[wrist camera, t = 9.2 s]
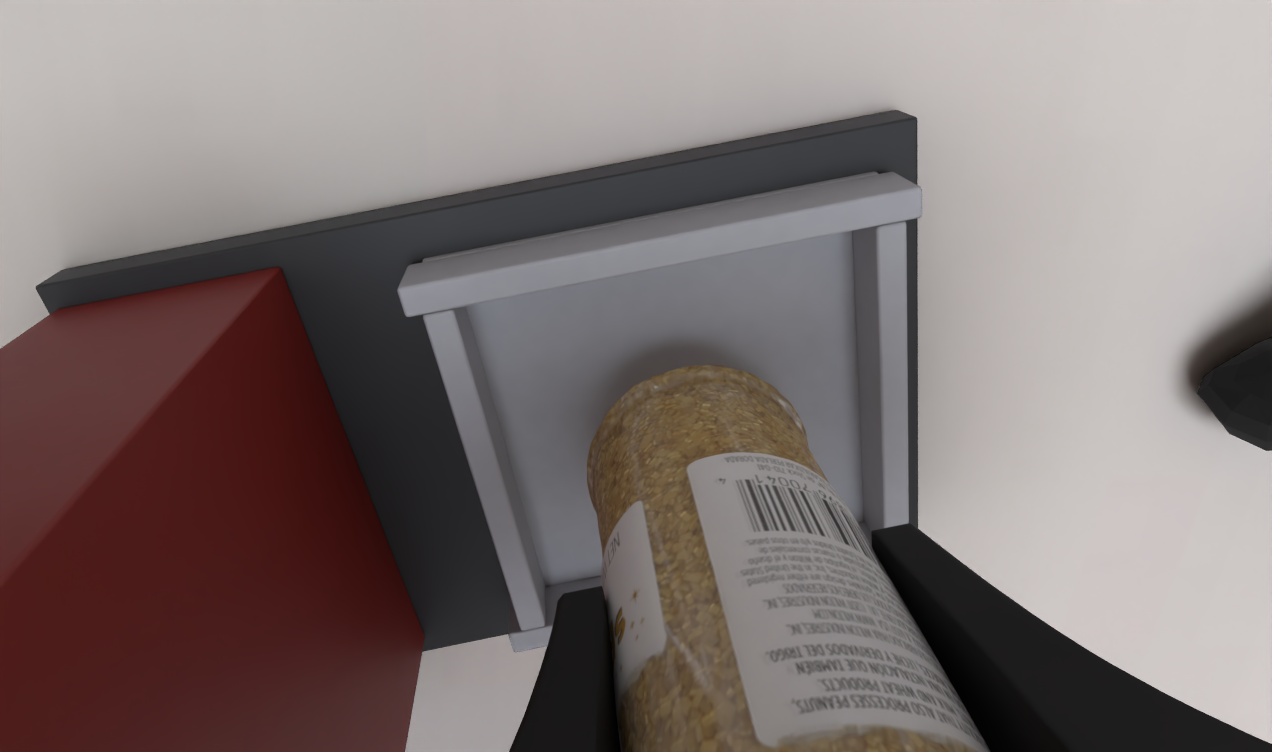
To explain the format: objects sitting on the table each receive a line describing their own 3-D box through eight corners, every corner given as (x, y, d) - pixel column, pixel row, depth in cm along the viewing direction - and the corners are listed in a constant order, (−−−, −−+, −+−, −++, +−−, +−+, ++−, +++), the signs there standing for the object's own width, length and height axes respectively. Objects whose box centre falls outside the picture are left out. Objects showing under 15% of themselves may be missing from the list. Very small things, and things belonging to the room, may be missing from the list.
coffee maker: (903, 527, 22) (1259, 1065, 11) (264, 657, 21) (-13, 1348, 11) (898, 108, 17) (1548, 351, 6) (60, 269, 16) (-866, 839, 6)
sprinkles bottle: (538, 463, 16) (529, 1891, 4) (705, 310, 15) (1355, 1658, 3) (691, 579, 18) (994, 1810, 6) (850, 449, 17) (1627, 1647, 5)
